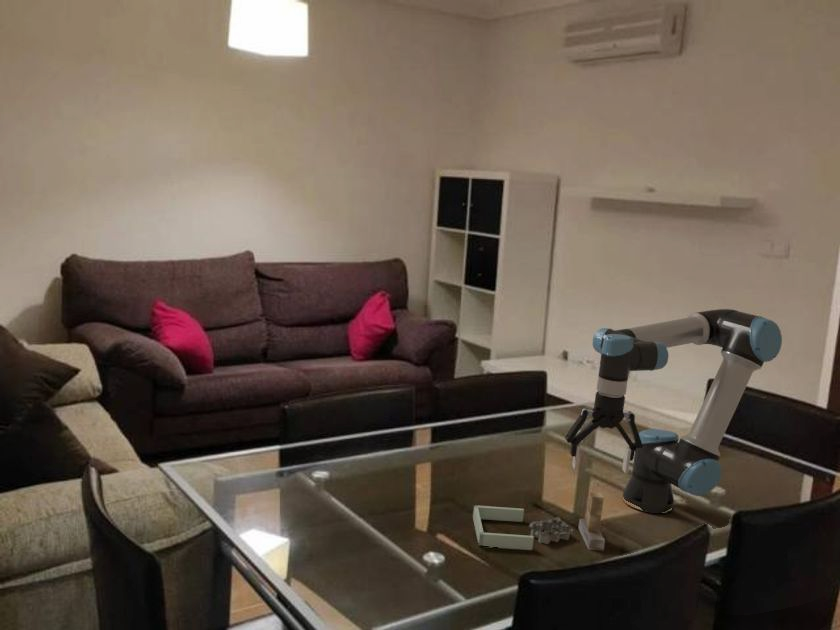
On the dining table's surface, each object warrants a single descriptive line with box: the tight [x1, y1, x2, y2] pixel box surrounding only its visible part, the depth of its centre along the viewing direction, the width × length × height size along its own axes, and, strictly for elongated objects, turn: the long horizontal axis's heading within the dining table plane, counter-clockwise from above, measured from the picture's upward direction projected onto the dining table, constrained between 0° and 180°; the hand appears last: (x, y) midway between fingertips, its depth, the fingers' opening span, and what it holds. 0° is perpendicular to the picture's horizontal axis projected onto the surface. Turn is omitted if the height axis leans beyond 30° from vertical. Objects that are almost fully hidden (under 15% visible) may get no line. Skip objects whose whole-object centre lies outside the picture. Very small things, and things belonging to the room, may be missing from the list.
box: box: [472, 505, 535, 551], centre depth 210 cm, size 14×17×4 cm
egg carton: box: [528, 516, 574, 545], centre depth 211 cm, size 11×8×4 cm
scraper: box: [578, 491, 606, 552], centre depth 210 cm, size 4×12×13 cm, turn 2°
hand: (599, 469), depth 208 cm, fingers open, 13 cm apart
